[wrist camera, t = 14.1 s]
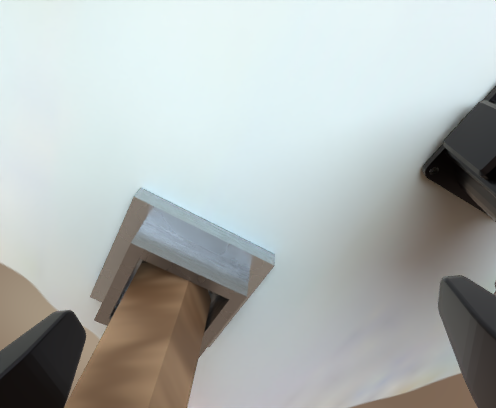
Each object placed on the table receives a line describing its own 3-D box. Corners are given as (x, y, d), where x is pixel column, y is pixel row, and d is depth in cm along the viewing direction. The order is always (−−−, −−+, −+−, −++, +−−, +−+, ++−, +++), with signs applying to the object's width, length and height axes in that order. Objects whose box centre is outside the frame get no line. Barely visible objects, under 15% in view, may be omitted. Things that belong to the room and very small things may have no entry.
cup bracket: (274, 254, 24) (274, 292, 20) (211, 334, 28) (203, 376, 25) (140, 187, 22) (117, 218, 19) (97, 285, 26) (72, 323, 23)
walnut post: (196, 257, 23) (118, 499, 12) (211, 300, 25) (156, 544, 13) (141, 263, 23) (16, 498, 12) (159, 304, 25) (65, 541, 14)
